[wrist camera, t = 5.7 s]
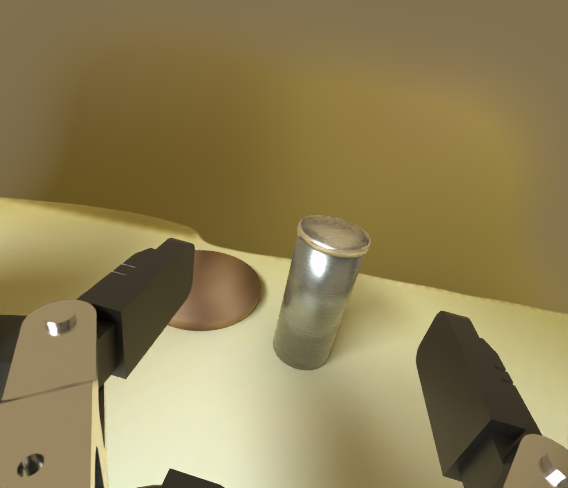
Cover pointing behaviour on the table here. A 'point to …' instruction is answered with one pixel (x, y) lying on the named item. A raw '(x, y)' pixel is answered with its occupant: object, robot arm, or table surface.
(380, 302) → the table surface
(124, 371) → the robot arm
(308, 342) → the grey can
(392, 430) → the table surface
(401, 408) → the table surface
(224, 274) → the disc
